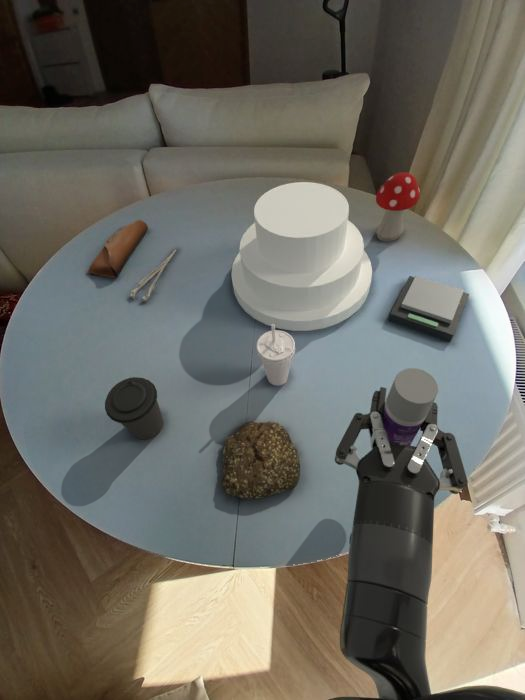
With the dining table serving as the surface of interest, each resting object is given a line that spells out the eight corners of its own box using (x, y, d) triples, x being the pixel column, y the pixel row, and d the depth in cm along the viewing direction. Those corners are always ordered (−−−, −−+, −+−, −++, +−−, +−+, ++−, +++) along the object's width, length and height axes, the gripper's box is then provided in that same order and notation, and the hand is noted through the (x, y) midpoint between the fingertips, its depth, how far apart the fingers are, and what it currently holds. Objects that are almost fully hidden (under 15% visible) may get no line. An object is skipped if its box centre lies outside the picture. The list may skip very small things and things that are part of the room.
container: (386, 467, 51) (414, 412, 40) (364, 438, 54) (383, 378, 42) (414, 450, 53) (449, 391, 41) (391, 423, 55) (418, 360, 43)
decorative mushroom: (386, 252, 91) (400, 192, 79) (360, 233, 95) (370, 174, 83) (417, 235, 93) (435, 175, 81) (391, 218, 98) (404, 158, 86)
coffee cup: (157, 396, 71) (139, 364, 63) (180, 427, 67) (164, 398, 59) (116, 422, 68) (92, 393, 60) (138, 457, 64) (115, 430, 56)
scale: (465, 300, 80) (471, 290, 78) (450, 342, 74) (455, 332, 72) (407, 282, 84) (410, 272, 82) (388, 320, 78) (391, 310, 76)
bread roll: (304, 496, 59) (304, 485, 55) (221, 504, 59) (216, 494, 55) (293, 419, 67) (293, 404, 63) (220, 426, 67) (215, 412, 63)
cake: (324, 222, 99) (328, 151, 85) (399, 297, 82) (420, 224, 68) (213, 262, 92) (198, 192, 78) (269, 352, 75) (263, 284, 61)
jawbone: (148, 302, 86) (145, 295, 84) (130, 298, 87) (127, 291, 85) (185, 256, 96) (184, 249, 95) (169, 253, 97) (167, 246, 96)
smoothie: (285, 357, 74) (283, 306, 63) (301, 383, 71) (302, 333, 60) (254, 371, 73) (247, 321, 62) (269, 397, 69) (264, 350, 58)
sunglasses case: (119, 226, 102) (123, 208, 97) (144, 240, 104) (150, 222, 99) (85, 273, 92) (88, 255, 87) (114, 287, 94) (119, 270, 89)
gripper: (484, 556, 34) (478, 391, 44) (320, 510, 37) (348, 366, 47) (456, 570, 40) (456, 422, 50) (316, 529, 43) (342, 398, 53)
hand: (404, 395), depth 48 cm, fingers closed on container, 4 cm apart
